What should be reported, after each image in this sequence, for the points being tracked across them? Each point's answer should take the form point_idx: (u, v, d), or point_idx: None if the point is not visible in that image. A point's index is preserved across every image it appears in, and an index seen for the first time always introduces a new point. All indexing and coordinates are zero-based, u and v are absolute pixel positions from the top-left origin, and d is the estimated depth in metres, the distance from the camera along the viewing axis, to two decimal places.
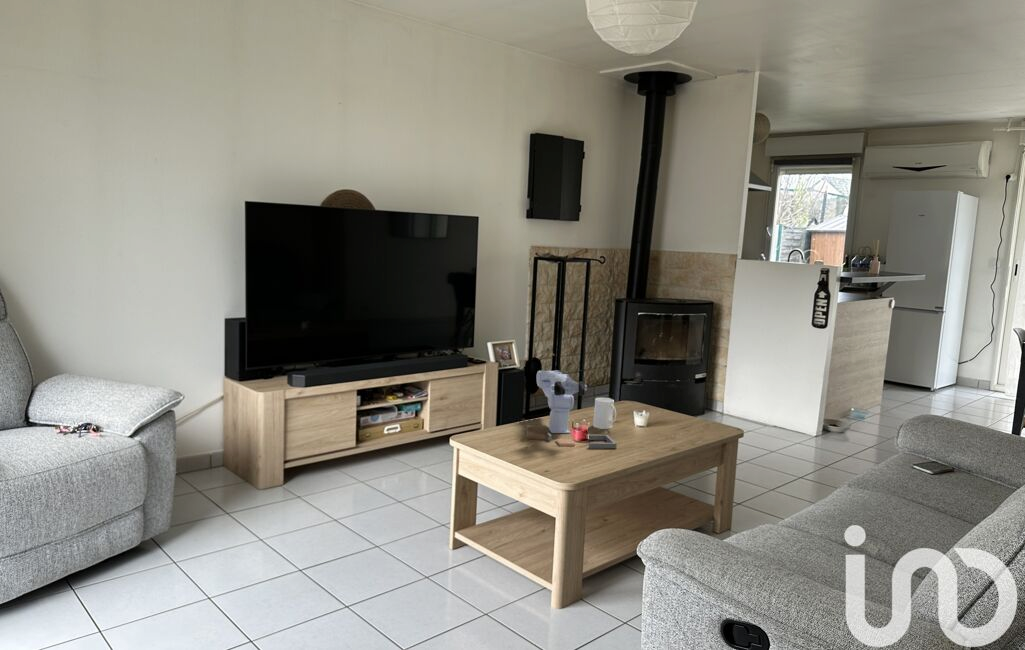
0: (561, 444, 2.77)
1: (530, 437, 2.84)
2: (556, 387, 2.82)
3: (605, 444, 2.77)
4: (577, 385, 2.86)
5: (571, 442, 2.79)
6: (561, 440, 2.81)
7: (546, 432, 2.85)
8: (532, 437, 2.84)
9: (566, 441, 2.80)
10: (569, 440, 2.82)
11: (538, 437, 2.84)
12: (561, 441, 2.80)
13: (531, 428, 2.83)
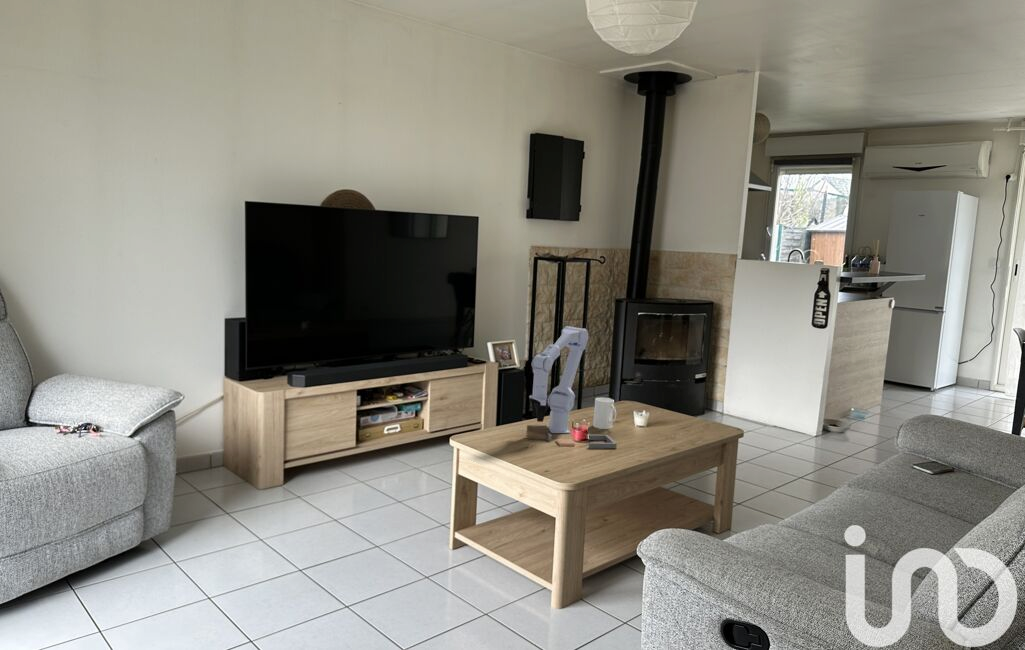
0: (561, 444, 2.77)
1: (530, 437, 2.84)
2: None
3: (605, 444, 2.77)
4: None
5: (571, 442, 2.79)
6: (561, 440, 2.81)
7: (546, 432, 2.85)
8: (532, 437, 2.84)
9: (566, 441, 2.80)
10: (569, 440, 2.82)
11: (538, 437, 2.84)
12: (561, 441, 2.80)
13: (531, 428, 2.83)
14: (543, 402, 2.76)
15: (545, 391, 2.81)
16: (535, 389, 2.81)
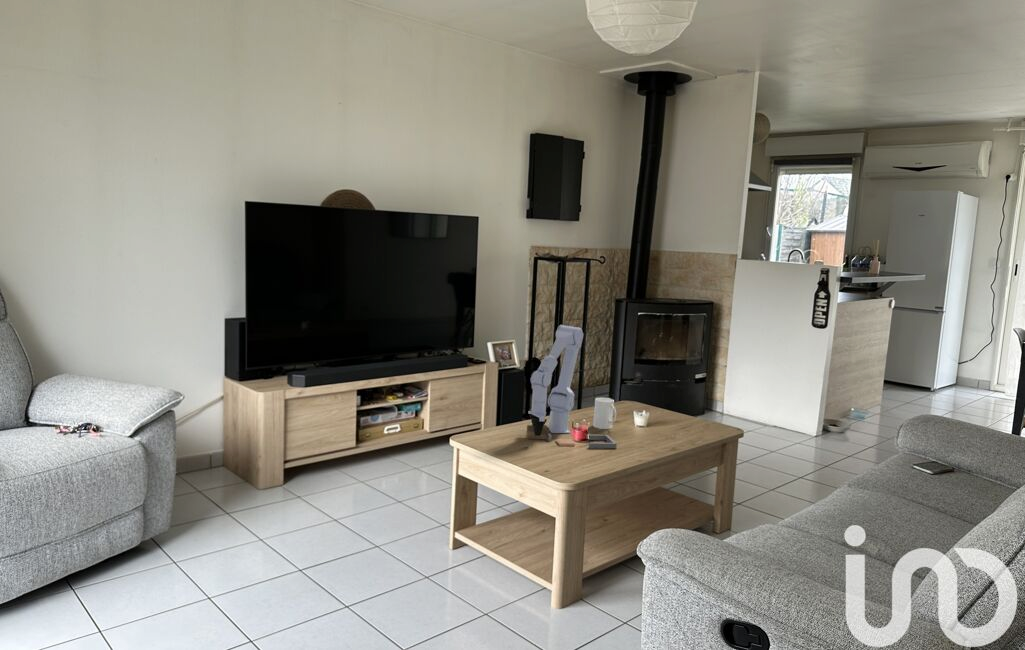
0: (561, 444, 2.77)
1: (530, 437, 2.84)
2: None
3: (605, 444, 2.77)
4: None
5: (571, 442, 2.79)
6: (561, 440, 2.81)
7: (546, 432, 2.85)
8: (532, 437, 2.84)
9: (566, 441, 2.80)
10: (569, 440, 2.82)
11: (538, 437, 2.84)
12: (561, 441, 2.80)
13: (531, 428, 2.83)
14: (542, 418, 2.77)
15: (544, 407, 2.82)
16: (534, 405, 2.82)
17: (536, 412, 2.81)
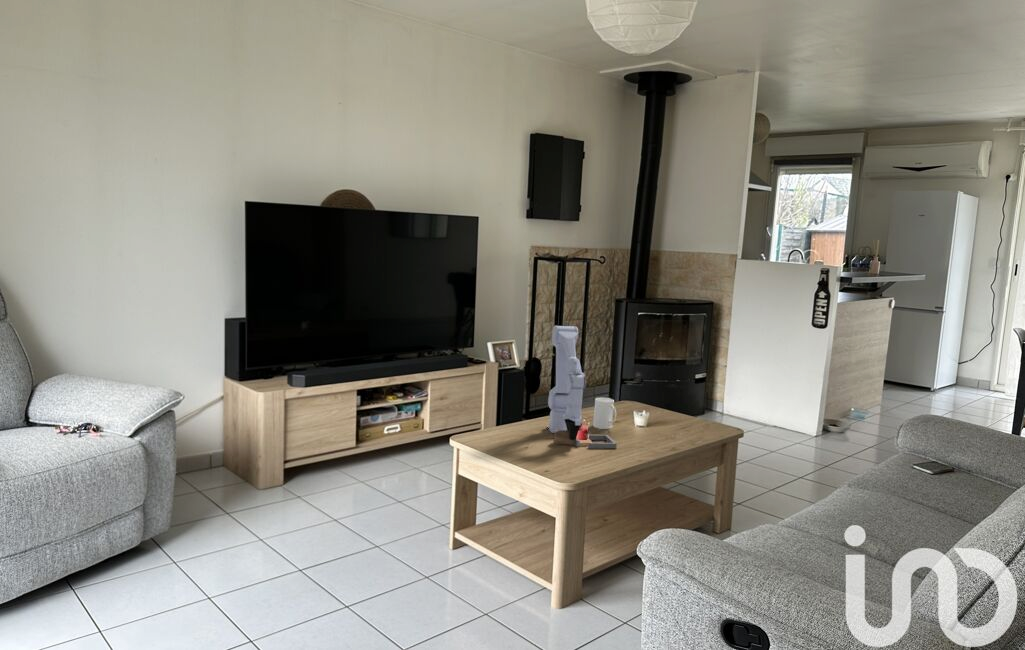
0: (580, 443, 2.79)
1: (558, 442, 2.79)
2: None
3: (605, 444, 2.77)
4: None
5: (589, 441, 2.81)
6: None
7: None
8: (560, 442, 2.79)
9: (584, 441, 2.81)
10: (587, 439, 2.84)
11: (566, 442, 2.79)
12: (579, 440, 2.82)
13: (559, 433, 2.78)
14: (578, 422, 2.73)
15: (579, 410, 2.77)
16: (569, 408, 2.77)
17: (571, 416, 2.77)
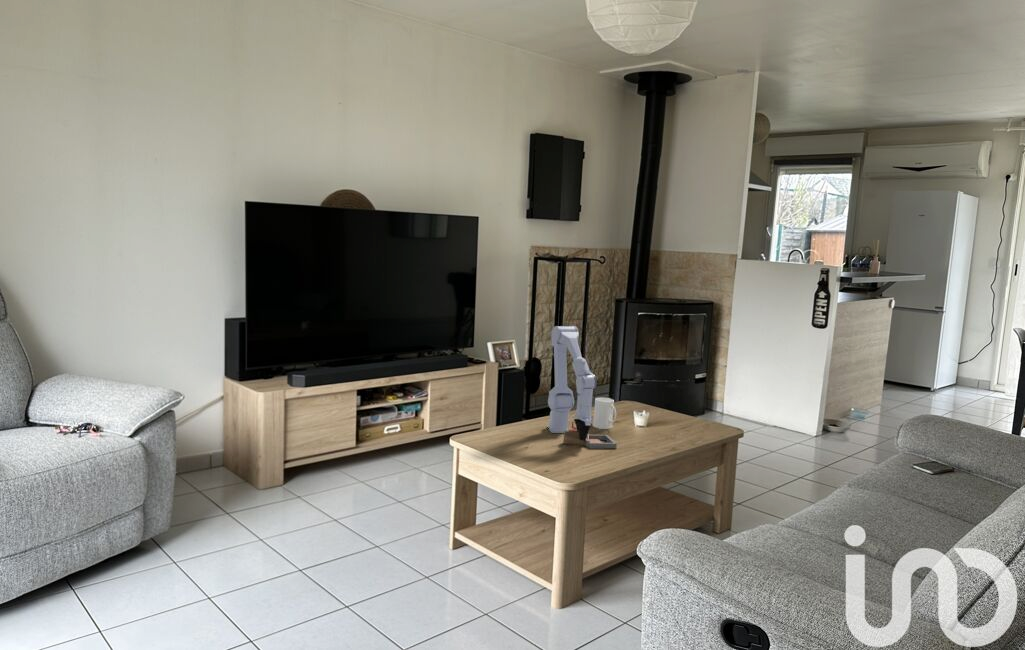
0: None
1: (568, 442, 2.79)
2: None
3: (605, 444, 2.77)
4: None
5: (599, 442, 2.82)
6: (589, 440, 2.84)
7: None
8: (570, 442, 2.79)
9: (594, 441, 2.82)
10: (597, 440, 2.85)
11: (576, 442, 2.80)
12: None
13: (569, 433, 2.79)
14: (588, 422, 2.73)
15: (589, 411, 2.78)
16: (579, 409, 2.78)
17: (581, 416, 2.78)
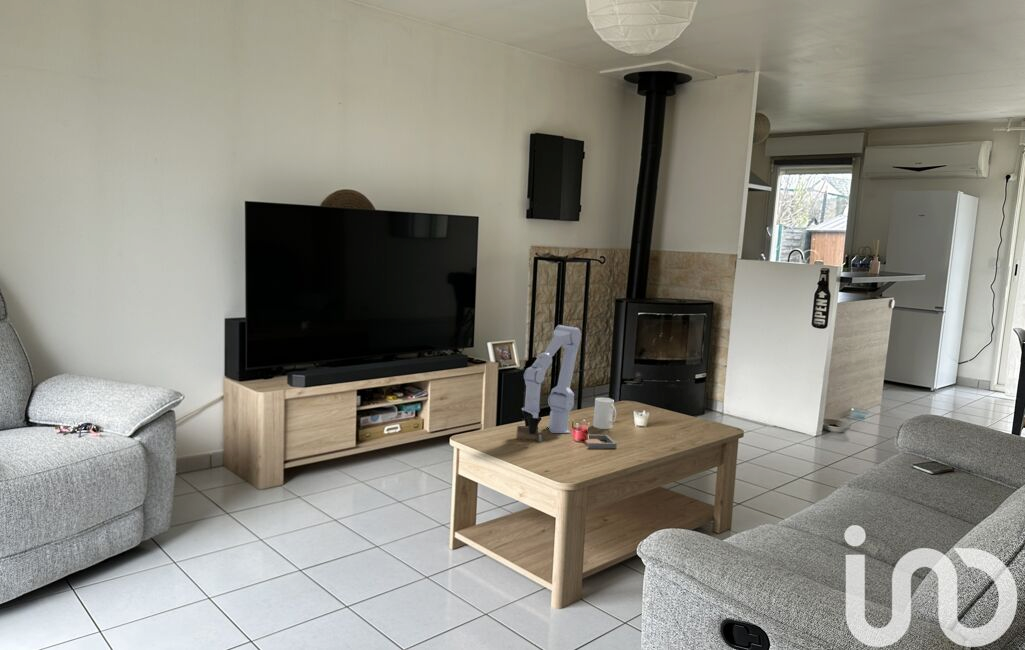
0: None
1: (520, 438, 2.82)
2: None
3: (605, 444, 2.77)
4: None
5: (599, 442, 2.82)
6: (589, 440, 2.84)
7: (536, 433, 2.83)
8: (522, 438, 2.82)
9: (594, 441, 2.82)
10: (597, 440, 2.85)
11: (529, 437, 2.82)
12: (589, 441, 2.83)
13: (521, 429, 2.81)
14: (535, 415, 2.75)
15: (537, 403, 2.80)
16: (527, 401, 2.80)
17: (529, 409, 2.80)
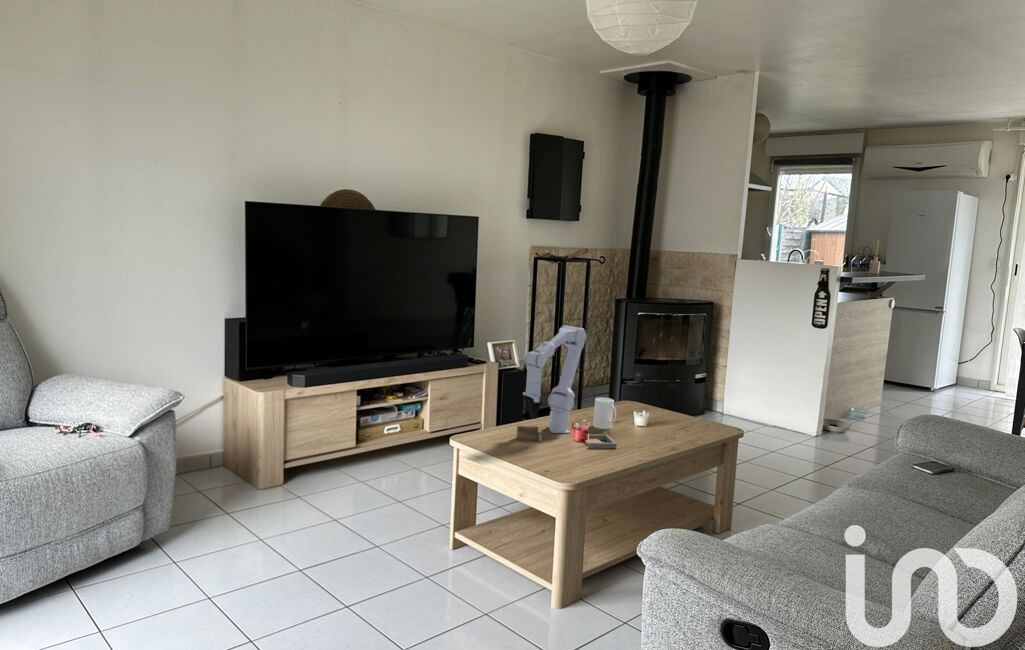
0: None
1: (520, 438, 2.82)
2: None
3: (605, 444, 2.77)
4: None
5: (599, 442, 2.82)
6: (589, 440, 2.84)
7: (536, 433, 2.83)
8: (522, 438, 2.82)
9: (594, 441, 2.82)
10: (597, 440, 2.85)
11: (529, 437, 2.82)
12: (589, 441, 2.83)
13: (521, 429, 2.81)
14: (536, 399, 2.75)
15: (538, 388, 2.79)
16: (528, 386, 2.79)
17: (530, 393, 2.79)
